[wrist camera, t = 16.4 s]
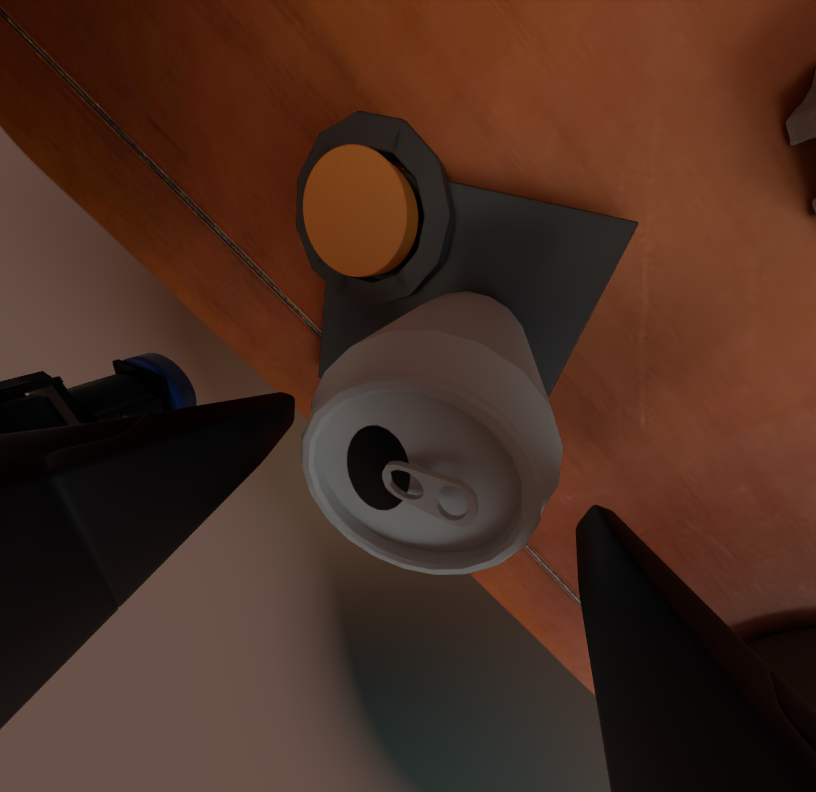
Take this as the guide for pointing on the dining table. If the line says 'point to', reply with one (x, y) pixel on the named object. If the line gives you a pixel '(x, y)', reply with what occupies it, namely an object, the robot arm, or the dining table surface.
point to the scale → (469, 252)
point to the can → (435, 438)
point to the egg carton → (804, 121)
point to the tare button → (359, 211)
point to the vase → (792, 660)
